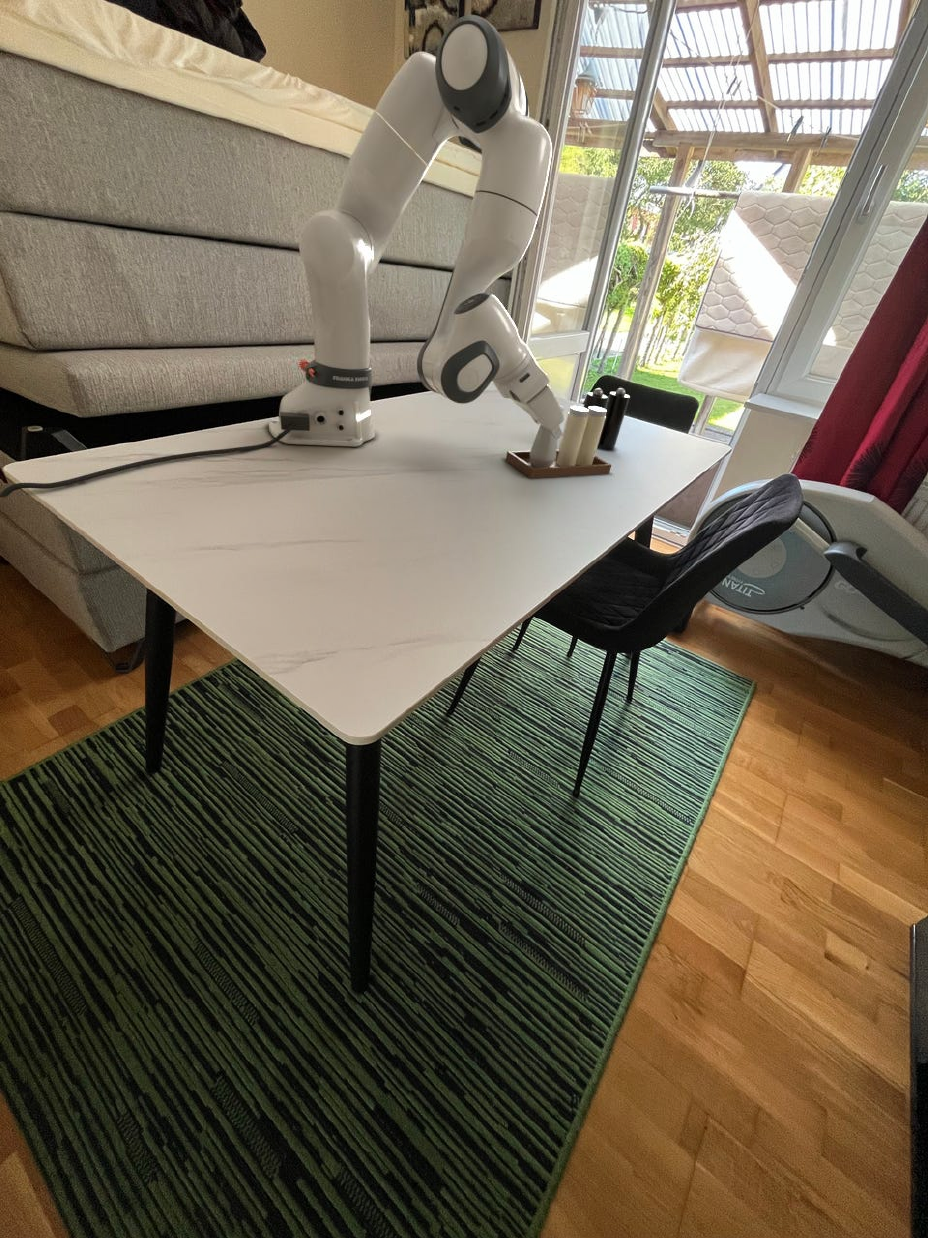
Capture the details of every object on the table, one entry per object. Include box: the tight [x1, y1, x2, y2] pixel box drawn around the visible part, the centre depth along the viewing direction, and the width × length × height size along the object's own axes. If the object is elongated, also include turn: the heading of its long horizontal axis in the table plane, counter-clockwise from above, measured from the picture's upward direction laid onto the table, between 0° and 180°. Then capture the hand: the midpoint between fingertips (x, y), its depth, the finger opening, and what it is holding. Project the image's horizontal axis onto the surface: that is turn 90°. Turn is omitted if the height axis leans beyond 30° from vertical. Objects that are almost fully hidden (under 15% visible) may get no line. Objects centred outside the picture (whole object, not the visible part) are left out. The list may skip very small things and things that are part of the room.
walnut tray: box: [505, 449, 612, 479], centre depth 116 cm, size 22×11×2 cm, turn 117°
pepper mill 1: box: [582, 387, 609, 409], centre depth 126 cm, size 5×5×14 cm
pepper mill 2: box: [597, 387, 631, 451], centre depth 130 cm, size 5×5×14 cm
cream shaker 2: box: [576, 406, 607, 466], centre depth 116 cm, size 4×4×12 cm
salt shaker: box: [529, 404, 564, 468], centre depth 110 cm, size 6×6×13 cm
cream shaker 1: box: [556, 405, 589, 466], centre depth 113 cm, size 4×4×12 cm
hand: (548, 428), depth 109 cm, fingers open, 8 cm apart
